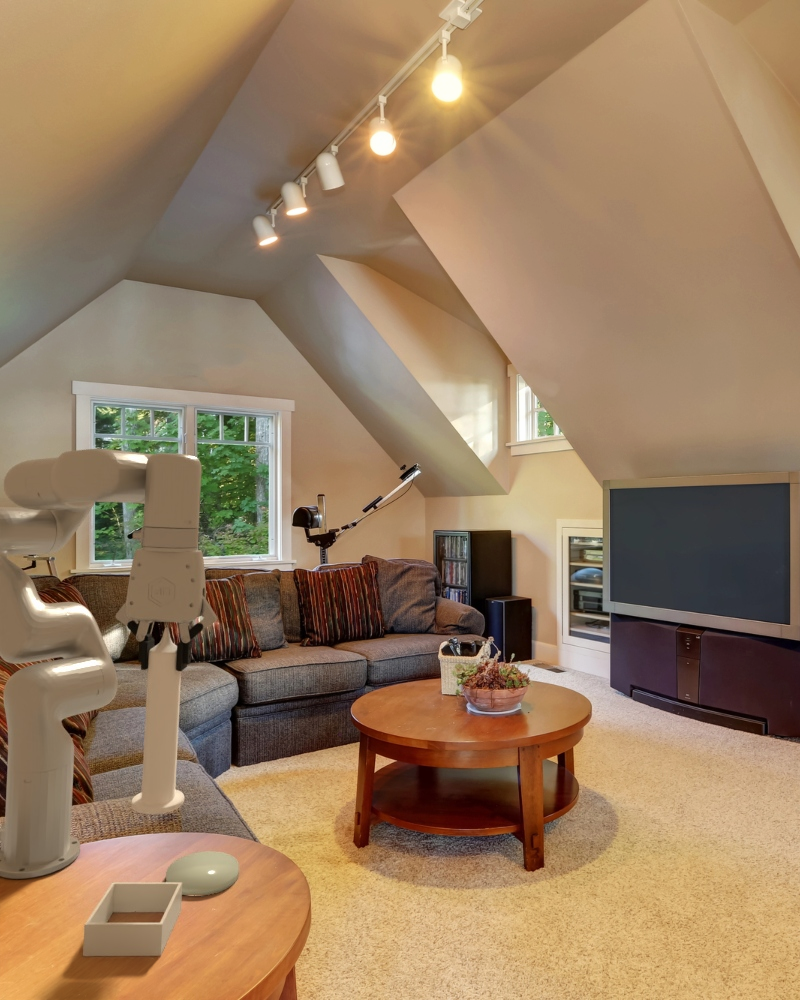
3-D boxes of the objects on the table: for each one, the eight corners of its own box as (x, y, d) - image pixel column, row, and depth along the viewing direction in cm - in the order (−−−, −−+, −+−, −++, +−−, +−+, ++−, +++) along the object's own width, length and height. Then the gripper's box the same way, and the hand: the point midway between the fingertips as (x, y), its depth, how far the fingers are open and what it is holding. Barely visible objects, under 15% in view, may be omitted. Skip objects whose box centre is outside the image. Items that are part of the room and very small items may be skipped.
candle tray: (82, 956, 85) (84, 924, 86) (111, 910, 95) (112, 882, 95) (160, 955, 86) (162, 924, 86) (181, 910, 96) (182, 882, 96)
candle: (165, 818, 91) (175, 633, 91) (120, 810, 92) (129, 629, 93) (193, 796, 97) (202, 625, 98) (150, 790, 99) (159, 621, 99)
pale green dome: (149, 885, 102) (150, 877, 102) (198, 852, 112) (198, 845, 112) (207, 904, 98) (208, 896, 98) (252, 868, 108) (253, 861, 108)
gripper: (100, 538, 91) (93, 672, 91) (223, 544, 92) (217, 677, 92) (121, 536, 99) (115, 660, 99) (235, 541, 99) (229, 664, 99)
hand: (164, 667), depth 95 cm, fingers closed on candle, 4 cm apart
